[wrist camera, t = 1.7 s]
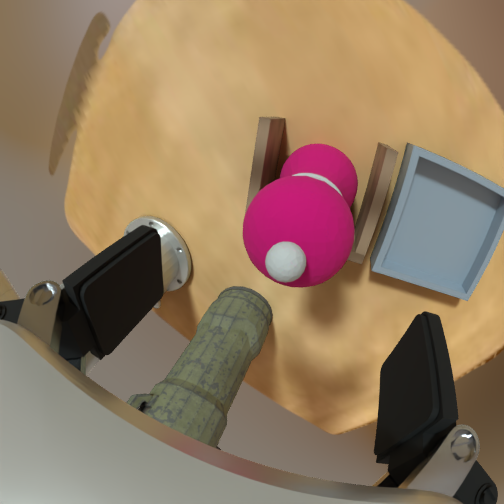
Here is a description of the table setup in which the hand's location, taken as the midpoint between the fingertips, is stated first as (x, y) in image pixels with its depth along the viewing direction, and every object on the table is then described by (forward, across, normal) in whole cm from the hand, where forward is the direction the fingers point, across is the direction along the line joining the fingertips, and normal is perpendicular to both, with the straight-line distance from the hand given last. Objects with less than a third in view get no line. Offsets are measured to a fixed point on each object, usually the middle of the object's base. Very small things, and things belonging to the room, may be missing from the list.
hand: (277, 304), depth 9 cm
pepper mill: (+22, +1, +1) cm, 23 cm away
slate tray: (+22, -14, +2) cm, 27 cm away
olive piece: (+22, +7, +23) cm, 32 cm away
